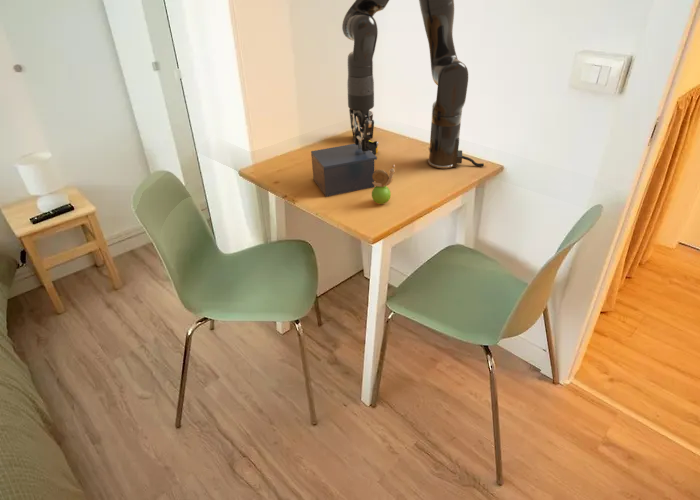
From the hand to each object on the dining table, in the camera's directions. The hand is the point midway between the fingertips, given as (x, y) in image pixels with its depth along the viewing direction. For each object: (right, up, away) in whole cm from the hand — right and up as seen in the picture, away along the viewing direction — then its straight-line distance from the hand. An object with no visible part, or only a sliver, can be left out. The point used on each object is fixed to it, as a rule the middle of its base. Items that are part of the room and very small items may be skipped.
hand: (361, 147), depth 141 cm
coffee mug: (0, +10, +34) cm, 35 cm away
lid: (-6, -3, -1) cm, 6 cm away
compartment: (-6, -10, +4) cm, 13 cm away
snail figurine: (+6, -18, -7) cm, 20 cm away
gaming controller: (+1, +2, +22) cm, 22 cm away
